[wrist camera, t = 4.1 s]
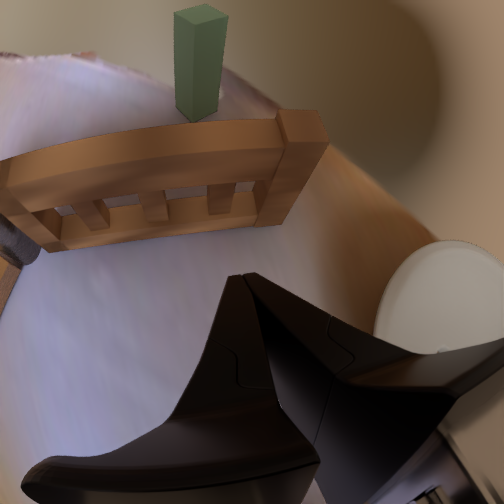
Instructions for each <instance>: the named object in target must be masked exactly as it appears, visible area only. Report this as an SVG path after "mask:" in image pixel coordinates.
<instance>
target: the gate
mask: <svg viewBox="0 0 504 504" xmlns="http://www.w3.org/2000/svg"><path fill="white" fill-rule="evenodd" d="M329 143H330V140H329V138H328V135H327V133H326V131H325V128H324V126H323V123H322V121H321V119H320V116H319V114H318V112H317V111H316V110H281V109H278V112H277V115H276V118H275V119H245V120H224V121H208V122H196V123H185V124H175V125H166V126H158V127H150V128H143V129H136V130H129V131H123V132H117V133H111V134H106V135H100V136H95V137H90V138H85V139H81V140H76V141H71V142H67V143H63V144H59V145H55V146H51V147H47V148H43V149H39V150H35V151H32V152H28V153H25V154H21V155H18V156H15V157H11V158H8V159H5V160H2V161H0V213H1V214H3V215H4V216H5V217H6V218H7V219H8V220H9V221H11V222H12V223H13V224H14V225H15V226H16V227H18V228H19V229H20V230H21V231H22V232H24V233H25V234H26V235H27V236H28V237H30V238H31V239H32V240H33V241H35V242H36V243H37V244H38V245H40V246H41V247H42V248H43V249H45V250H46V251H47V252H48V253H53V252H59V251H66V250H72V249H79V248H86V247H93V246H100V245H107V244H114V243H121V242H128V241H136V240H143V239H151V238H158V237H166V236H174V235H182V234H190V233H198V232H206V231H215V230H223V229H232V228H240V227H249V226H254V227H263V226H272V225H281V224H282V223H283V221H284V219H285V218H286V216H287V214H288V212H289V211H290V209H291V207H292V206H293V204H294V202H295V201H296V199H297V197H298V196H299V194H300V192H301V190H302V189H303V187H304V185H305V184H306V182H307V180H308V179H309V177H310V175H311V174H312V172H313V170H314V168H315V167H316V165H317V163H318V162H319V160H320V158H321V156H322V155H323V153H324V151H325V150H326V148H327V146H328V144H329ZM246 181H255V184H254V187H253V190H252V191H249V192H238V193H234V191H235V186H236V182H246ZM202 185H208V187H207V196H198V197H189V198H181V199H172V200H166V194H165V190H168V189H176V188H184V187H193V186H202ZM131 194H138V197H139V200H140V202H141V204H135V205H128V206H121V207H114V208H108V209H107V207H106V205H105V203H104V202H103V200H102V199H105V198H111V197H117V196H124V195H131ZM65 205H71V206H72V208H73V209H74V210H75V212H76V213H77V214H72V215H66V216H60V214H59V213H58V212H57V211H56V210H55V209H54V208H55V207H60V206H65Z"/></svg>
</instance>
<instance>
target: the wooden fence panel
mask: <svg viewBox="0 0 504 504" xmlns="http://www.w3.org/2000/svg"><path fill="white" fill-rule="evenodd" d="M40 249H41V246H40V245H38V244H37V243H36V242H35V241H33V240H32V239H31V238H30V237H28V236H27V235H26V234H25V233H24V232H22V231H21V230H20V229H19V228H18V227H16V226H15V225H14V224H13V223H12V222H11V221H9V220H8V219H7V218H6V217H5V216H4V215H3V214H1V213H0V251H1V252H2V253H4V254H6V255H7V256H9V257H10V258H12V259H13V260H15V261H17V262H18V263H20V264H22V265H29V264H31V263H32V262H34V261H35V260H36V258H37V257H38V255H39V253H40ZM20 271H21V270H20V269H19V268H17V267H16V266H15V265H14V264H12V263H11V262H10V261H8V260H7V259H6V258H4V257H2V256H1V255H0V315H1V312H2V310H3V308H4V305H5V303H6V301H7V299H8V296H9V294H10V292H11V290H12V288H13V286H14V283H15V281H16V279H17V277H18V275H19V273H20Z"/></svg>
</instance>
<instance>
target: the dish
mask: <svg viewBox="0 0 504 504" xmlns="http://www.w3.org/2000/svg"><path fill="white" fill-rule="evenodd" d="M373 336H375V337H377V338H379V339H382V340H384V341H386V342H389V343H391V344H393V345H396V346H398V347H401V348H403V349H405V350H408V351H411V352H414V353H418V354H435V353H437V351H438V352H439V353H440V352H446V351H451V350H456V349H461V348H466V347H470V346H475V345H479V344H483V343H487V342H491V341H495V340H498V339H501V338H504V264H503V263H502V262H501V261H500V260H498V259H497V258H496V257H495V256H494V255H492V254H491V253H489V252H488V251H486V250H485V249H483V248H481V247H479V246H477V245H474V244H472V243H469V242H464V241H459V240H443V241H437V242H433V243H430V244H427V245H425V246H423V247H421V248H419V249H418V250H416V251H415V252H413V253H412V254H411V255H410V256H408V257H407V258H406V259H405V260H404V261H403V262H402V263H401V265H400V266H399V267H398V268H397V269H396V271H395V272H394V274H393V275H392V277H391V278H390V280H389V282H388V284H387V286H386V288H385V290H384V292H383V295H382V297H381V300H380V303H379V307H378V310H377V314H376V319H375V324H374V331H373Z"/></svg>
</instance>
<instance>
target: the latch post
mask: <svg viewBox="0 0 504 504" xmlns="http://www.w3.org/2000/svg"><path fill="white" fill-rule="evenodd" d="M227 23H228V15H226V14H224V13H222V12H221V11H219V10H217V9H215V8H213V7H211V6H209V5H207V4H203V5H199V6H195V7H192V8H188V9H184V10H181V11H177V12H174V74H175V100H176V107H177V108H178V109H179V110H180V111H181V112H182V113H183V114H184V115H185V116H186V117H187V118H188V119H189V120H190V121H191V122H192V123H194V122H196V121H198V120H200V119H202V118H204V117H206V116H208V115H210V114H212V113H214V112H216V111H217V107H218V98H219V88H220V79H221V71H222V62H223V53H224V46H225V38H226V31H227Z"/></svg>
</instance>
